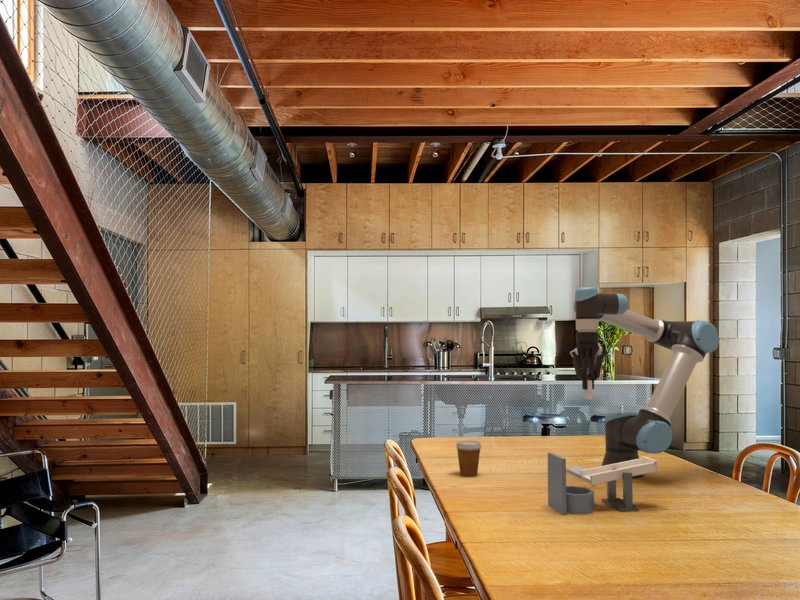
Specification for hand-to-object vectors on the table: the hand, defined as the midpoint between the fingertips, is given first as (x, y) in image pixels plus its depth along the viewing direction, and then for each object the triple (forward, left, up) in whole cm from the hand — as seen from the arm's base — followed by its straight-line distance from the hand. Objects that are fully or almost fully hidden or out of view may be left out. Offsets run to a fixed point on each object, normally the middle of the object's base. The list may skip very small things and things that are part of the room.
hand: (588, 398), depth 217 cm
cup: (+18, +25, -30) cm, 43 cm away
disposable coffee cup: (+36, -24, -30) cm, 53 cm away
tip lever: (+3, +19, -21) cm, 29 cm away
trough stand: (+3, +25, -30) cm, 39 cm away
